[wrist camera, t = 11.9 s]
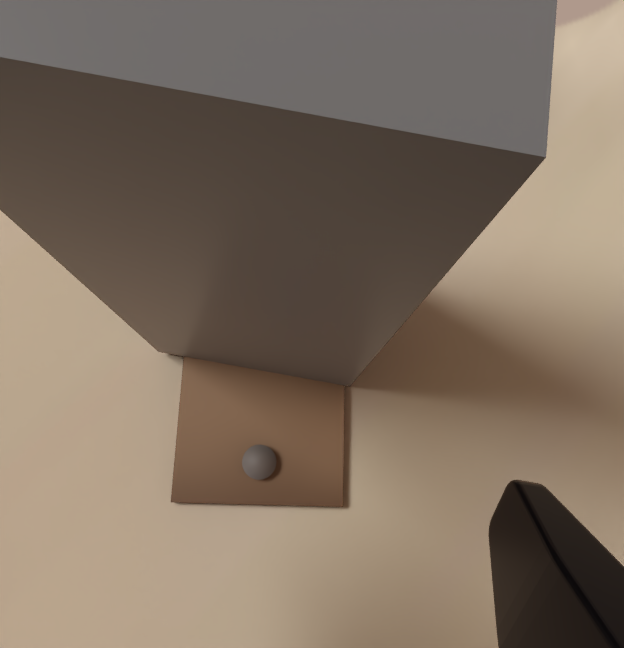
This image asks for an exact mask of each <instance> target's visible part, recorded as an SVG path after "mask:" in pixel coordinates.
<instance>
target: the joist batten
mask: <svg viewBox="0 0 624 648" xmlns="http://www.w3.org/2000/svg"><path fill="white" fill-rule="evenodd" d="M343 456H344V385H339V384H334V383H328V382H323V381H317V380H312V379H306V378H301V377H295V376H290V375H284V374H278V373H273V372H267V371H262V370H256V369H251V368H245V367H240V366H234V365H229V364H223V363H218V362H212V361H207V360H201V359H196V358H190V357H184V360H183V371H182V383H181V394H180V405H179V416H178V427H177V439H176V450H175V461H174V472H173V484H172V495H171V502H182V503H220V504H259V505H297V506H335V507H343Z"/></svg>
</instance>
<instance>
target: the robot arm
mask: <svg viewBox="0 0 624 648" xmlns="http://www.w3.org/2000/svg"><path fill="white" fill-rule="evenodd" d="M489 546H490V557H491V569H492V581H493V592H494V604H495V615H496V627H497V637H498V646H499V648H624V566H623V565H622V564H621V563H620V562H619V561H618V560H617V559H616V558H615V557H614V556H613V555H612V554H611V553H610V552H609V551H608V550H607V549H606V548H605V547H604V546H603V545H602V544H601V543H600V542H599V541H598V540H597V539H596V538H595V537H594V536H593V535H592V534H591V533H590V532H589V531H588V530H587V529H586V528H585V527H584V526H583V525H582V524H581V523H580V522H579V521H578V520H577V519H576V518H575V517H574V515H573V514H572V513H571V512H570V511H569V510H568V509H567V508H566V507H565V506H564V505H563V504H562V503H561V502H560V501H559V500H558V499H557V498H556V497H555V496H554V495H553V494H552V493H551V492H550V491H549V490H548V489H547V488H546V487H544V486H543V485H541V484H538V483H533V482H527V481H522V480H512V481H511V482H510V483H508V485H507V486H506V488H505V490H504V493H503V495H502V497H501V499H500V501H499V503H498V505H497V508H496V510H495V512H494V514H493V516H492V519H491V522H490V526H489Z"/></svg>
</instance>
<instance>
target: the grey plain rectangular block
mask: <svg viewBox="0 0 624 648" xmlns="http://www.w3.org/2000/svg"><path fill="white" fill-rule="evenodd" d="M556 7H557V0H0V210H1V211H2V212H3V213H4V214H6V215H7V216H8V217H9V218H10V219H11V220H12V221H13V222H14V223H16V224H17V225H18V226H19V227H20V228H21V229H22V230H23V231H25V232H26V233H27V234H28V235H29V236H30V237H31V238H32V239H33V240H35V241H36V242H37V243H38V244H39V245H40V246H41V247H42V248H43V249H45V250H46V251H47V252H48V253H49V254H50V255H51V256H52V257H54V258H55V259H56V260H57V261H58V262H59V263H60V264H61V265H62V266H64V267H65V268H66V269H67V270H68V271H69V272H70V273H71V274H72V275H74V276H75V277H76V278H77V279H78V280H79V281H80V282H81V283H83V284H84V285H85V286H86V287H87V288H88V289H89V290H90V291H91V292H93V293H94V294H95V295H96V296H97V297H98V298H99V299H100V300H101V301H103V302H104V303H105V304H106V305H107V306H108V307H109V308H110V309H112V310H113V311H114V312H115V313H116V314H117V315H118V316H119V317H120V318H122V319H123V320H124V321H125V322H126V323H127V324H128V325H129V326H130V327H132V328H133V329H134V330H135V331H136V332H137V333H138V334H139V335H141V336H142V337H143V338H144V339H145V340H146V341H147V342H148V343H149V344H151V345H152V346H153V347H154V348H155V349H156V350H157V351H158V352H162V353H168V354H173V355H179V356H184V357H190V358H196V359H201V360H207V361H212V362H218V363H223V364H229V365H234V366H240V367H245V368H251V369H256V370H262V371H267V372H273V373H278V374H284V375H290V376H295V377H301V378H306V379H312V380H317V381H323V382H328V383H334V384H339V385H345V386H350V385H351V384H352V383H353V382H354V381H355V379H356V378H357V377H358V376H359V375H360V374H361V372H362V371H363V370H364V369H365V368H366V367H367V365H368V364H369V363H370V362H371V361H372V360H373V358H374V357H375V356H376V355H377V354H378V353H379V351H380V350H381V349H382V348H383V347H384V346H385V344H386V343H387V342H388V341H389V340H390V339H391V337H392V336H393V335H394V334H395V333H396V332H397V330H398V329H399V328H400V327H401V326H402V325H403V323H404V322H405V321H406V320H407V319H408V318H409V316H410V315H411V314H412V313H413V312H414V311H415V309H416V308H417V307H418V306H419V305H420V304H421V302H422V301H423V300H424V299H425V298H426V297H427V295H428V294H429V293H430V292H431V291H432V290H433V288H434V287H435V286H436V285H437V284H438V283H439V281H440V280H441V279H442V278H443V277H444V276H445V274H446V273H447V272H448V271H449V270H450V269H451V267H452V266H453V265H454V264H455V263H456V262H457V260H458V259H459V258H460V257H461V256H462V255H463V253H464V252H465V251H466V250H467V249H468V248H469V246H470V245H471V244H472V243H473V242H474V241H475V239H476V238H477V237H478V236H479V235H480V234H481V232H482V231H483V230H484V229H485V228H486V227H487V225H488V224H489V223H490V222H491V221H492V220H493V218H494V217H495V216H496V215H497V214H498V213H499V211H500V210H501V209H502V208H503V207H504V206H505V204H506V203H507V202H508V201H509V200H510V199H511V197H512V196H513V195H514V194H515V193H516V192H517V190H518V189H519V188H520V187H521V186H522V185H523V183H524V182H525V181H526V180H527V179H528V178H529V176H530V175H531V174H532V173H533V172H534V171H535V169H536V168H537V167H538V166H539V165H540V164H541V162H542V161H543V160H544V159H545V158H546V149H547V135H548V121H549V107H550V93H551V78H552V64H553V50H554V36H555V22H556Z"/></svg>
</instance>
